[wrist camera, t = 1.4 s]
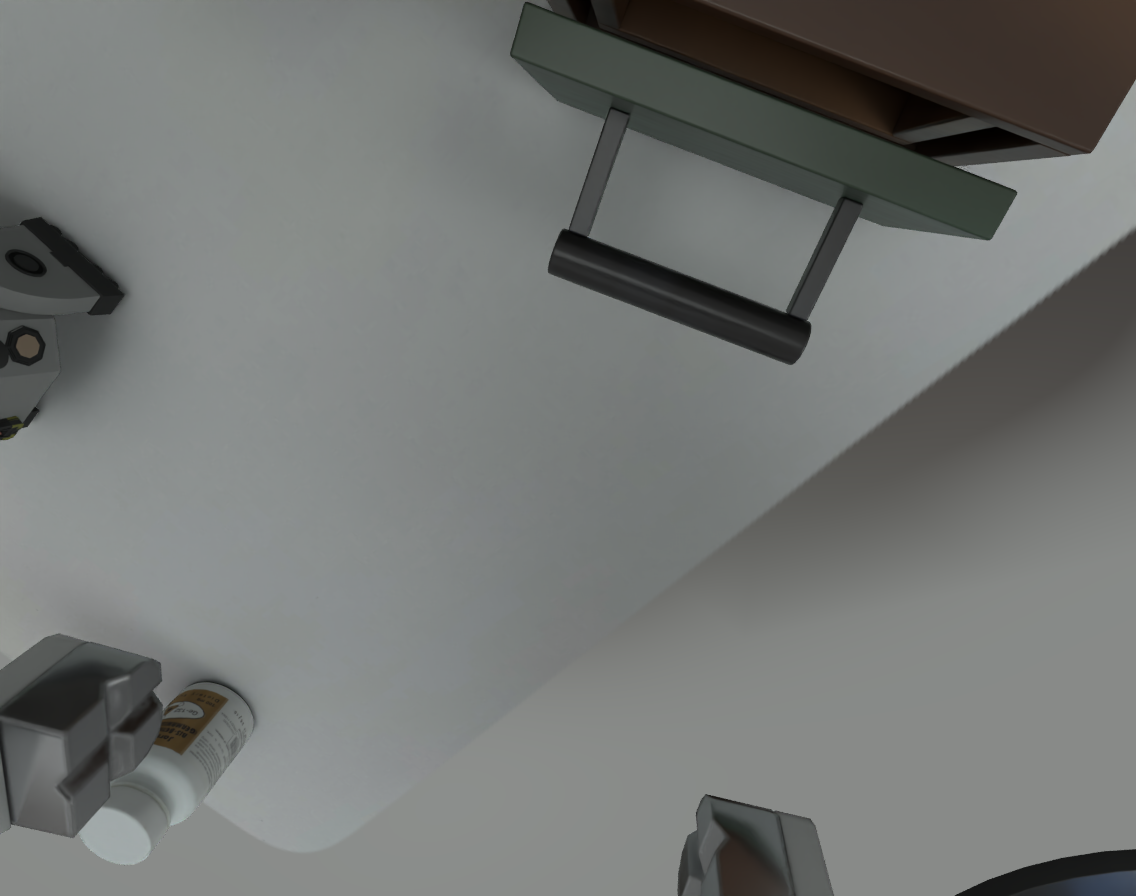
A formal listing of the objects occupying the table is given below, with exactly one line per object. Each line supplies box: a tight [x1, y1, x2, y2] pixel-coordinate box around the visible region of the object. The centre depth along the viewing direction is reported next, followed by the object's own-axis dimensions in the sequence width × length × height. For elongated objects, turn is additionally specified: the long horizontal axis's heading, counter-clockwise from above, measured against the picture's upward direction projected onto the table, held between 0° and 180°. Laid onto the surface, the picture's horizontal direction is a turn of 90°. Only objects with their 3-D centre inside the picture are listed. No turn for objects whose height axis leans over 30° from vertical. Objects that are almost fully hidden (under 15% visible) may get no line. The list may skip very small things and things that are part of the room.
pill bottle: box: [78, 682, 254, 865], centre depth 34 cm, size 4×4×8 cm
